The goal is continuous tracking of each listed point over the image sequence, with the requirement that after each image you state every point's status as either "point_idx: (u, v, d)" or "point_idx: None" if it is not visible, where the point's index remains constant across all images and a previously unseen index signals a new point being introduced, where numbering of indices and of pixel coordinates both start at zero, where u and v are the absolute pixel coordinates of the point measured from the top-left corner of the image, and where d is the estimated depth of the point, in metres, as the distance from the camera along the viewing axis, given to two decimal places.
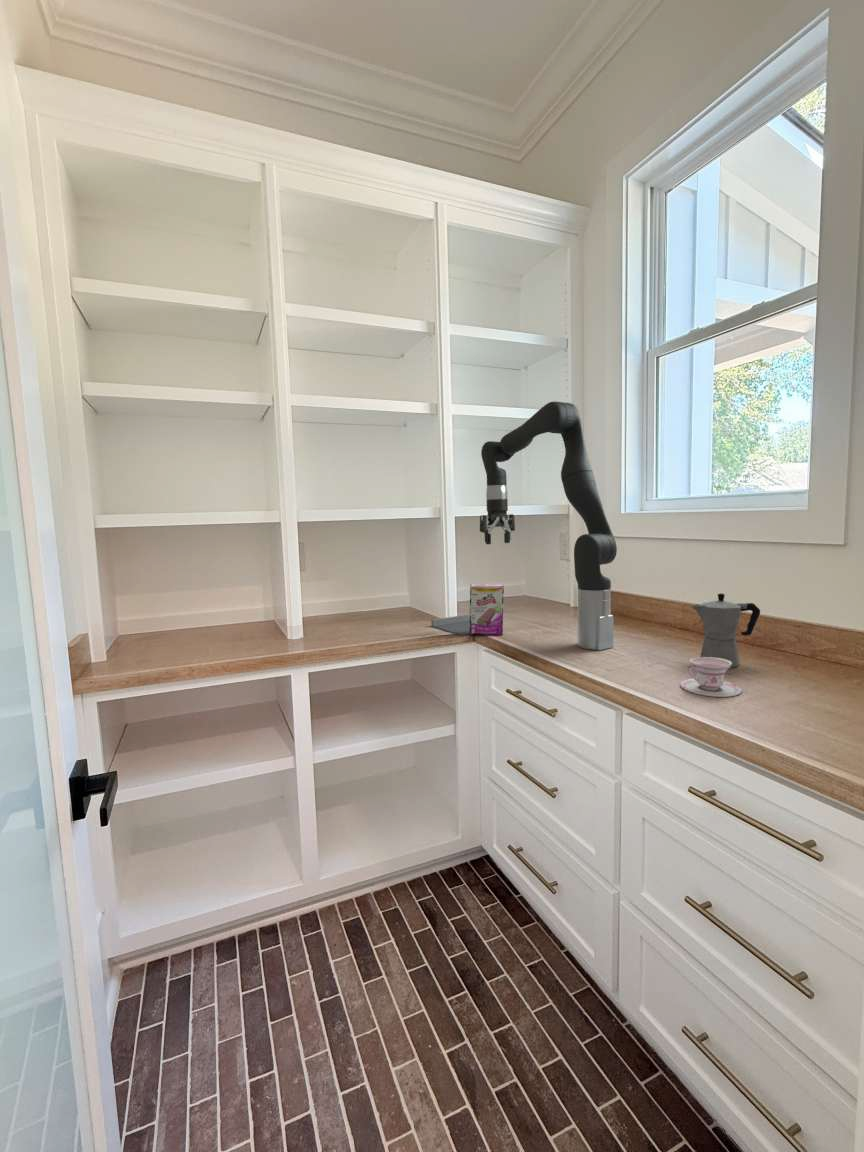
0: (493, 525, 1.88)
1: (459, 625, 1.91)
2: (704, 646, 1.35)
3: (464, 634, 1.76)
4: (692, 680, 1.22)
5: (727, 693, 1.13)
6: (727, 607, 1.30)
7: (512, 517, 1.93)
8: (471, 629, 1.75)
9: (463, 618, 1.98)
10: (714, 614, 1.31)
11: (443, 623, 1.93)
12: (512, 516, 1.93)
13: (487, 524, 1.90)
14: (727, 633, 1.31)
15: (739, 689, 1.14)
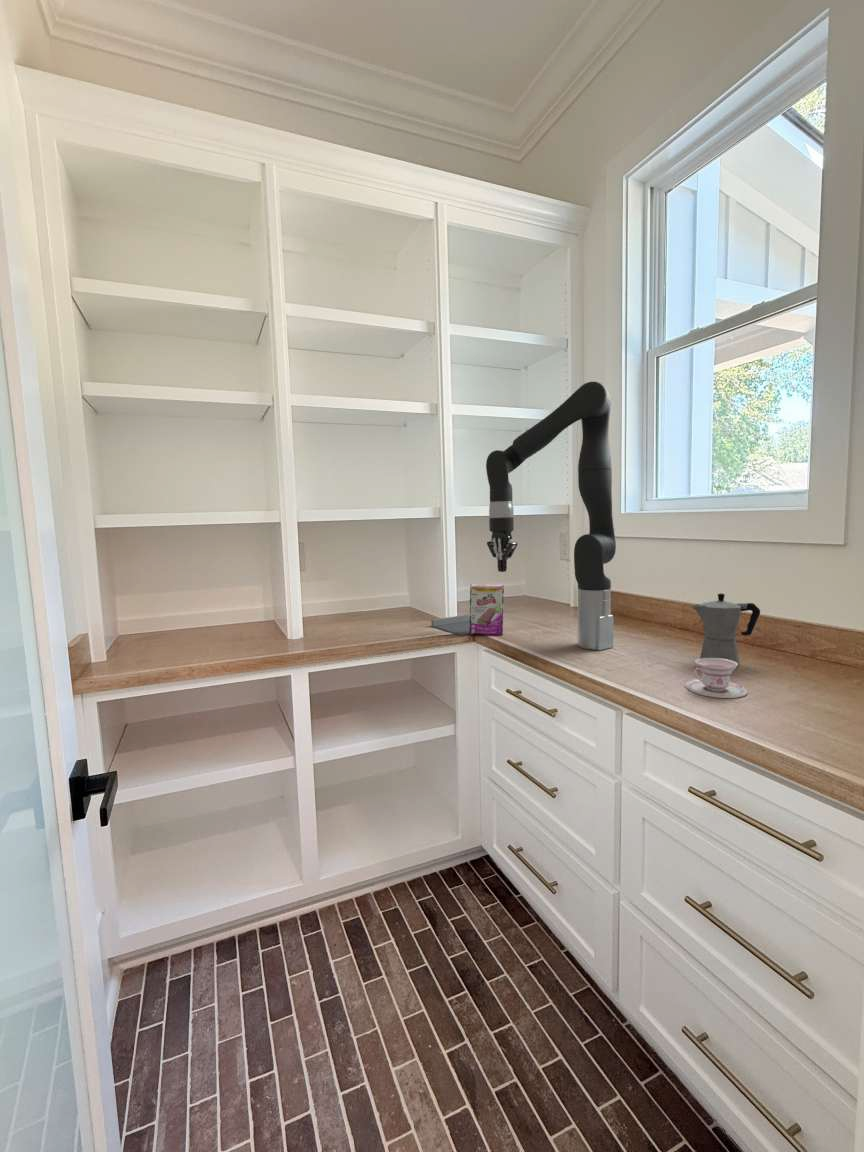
0: None
1: (459, 625, 1.91)
2: (704, 646, 1.35)
3: (464, 634, 1.76)
4: (697, 681, 1.21)
5: (733, 694, 1.12)
6: (727, 607, 1.30)
7: None
8: (471, 629, 1.75)
9: (463, 618, 1.98)
10: (714, 614, 1.31)
11: (443, 623, 1.93)
12: None
13: (501, 549, 1.64)
14: (727, 633, 1.31)
15: (745, 690, 1.14)
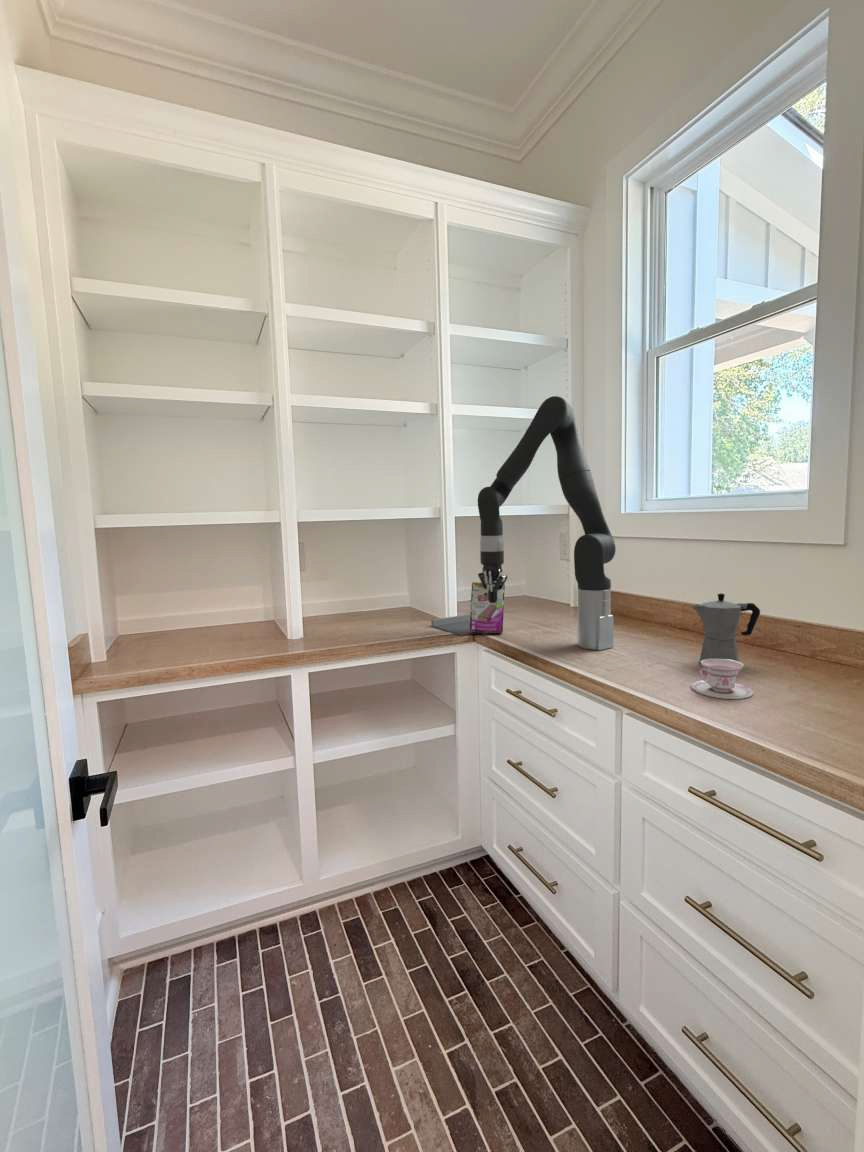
0: None
1: (459, 625, 1.91)
2: (704, 646, 1.35)
3: (464, 634, 1.76)
4: (702, 682, 1.20)
5: (739, 695, 1.12)
6: (727, 607, 1.30)
7: None
8: (471, 625, 1.76)
9: (463, 618, 1.98)
10: (714, 614, 1.31)
11: (443, 623, 1.93)
12: None
13: (492, 581, 1.70)
14: (727, 633, 1.31)
15: (751, 691, 1.13)
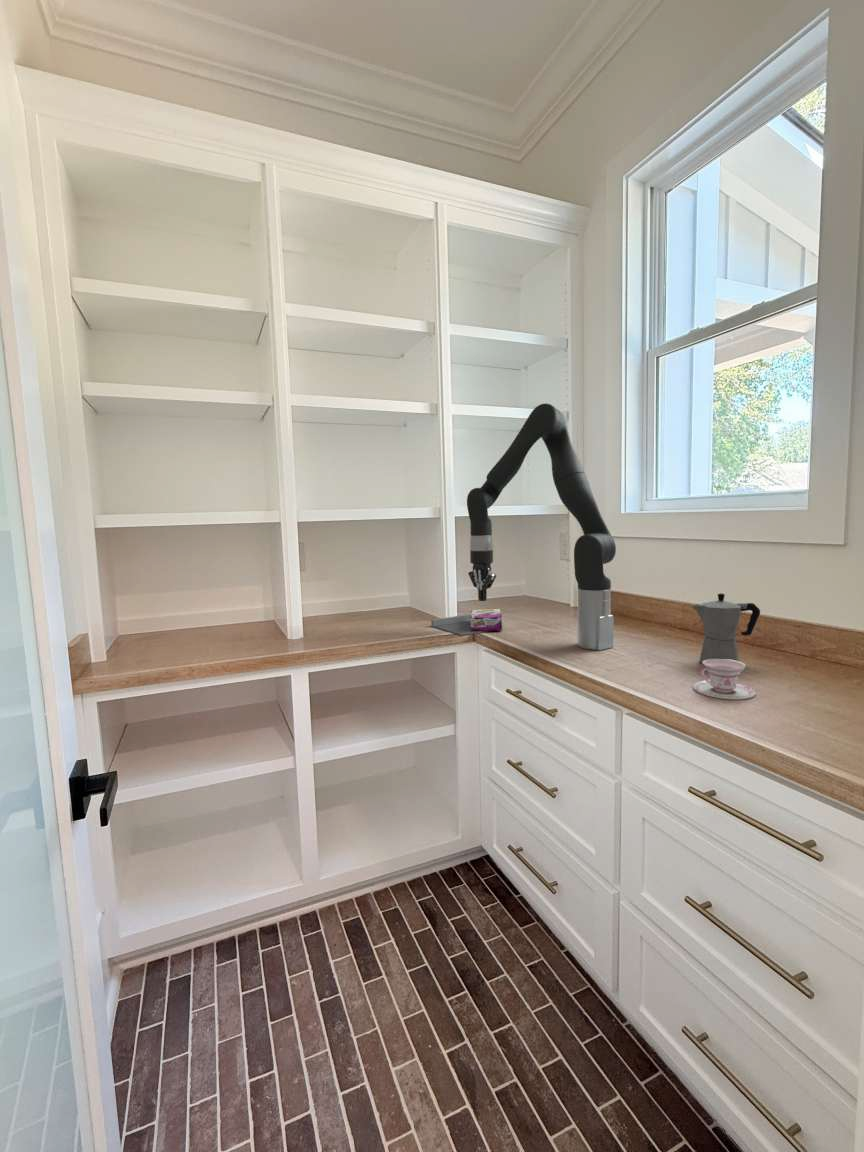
0: None
1: (459, 625, 1.91)
2: (704, 646, 1.35)
3: (464, 634, 1.76)
4: (704, 682, 1.20)
5: (741, 695, 1.11)
6: (727, 607, 1.30)
7: None
8: (471, 616, 1.82)
9: (463, 618, 1.98)
10: (714, 614, 1.31)
11: (443, 623, 1.93)
12: None
13: (481, 580, 1.75)
14: (727, 633, 1.31)
15: (753, 691, 1.13)
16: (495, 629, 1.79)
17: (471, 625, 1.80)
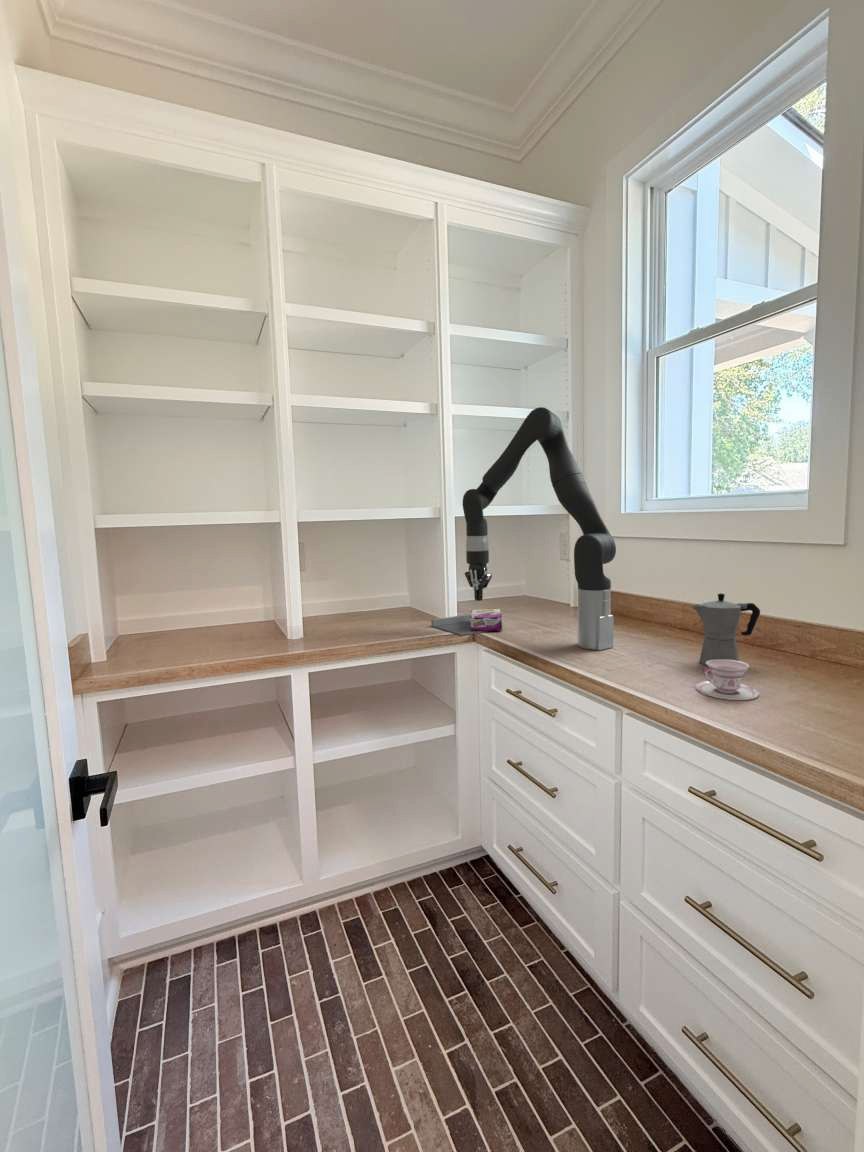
0: None
1: (459, 625, 1.91)
2: (704, 646, 1.35)
3: (464, 634, 1.76)
4: (707, 683, 1.20)
5: (745, 696, 1.11)
6: (727, 607, 1.30)
7: None
8: (471, 616, 1.82)
9: (463, 618, 1.98)
10: (714, 614, 1.31)
11: (443, 623, 1.93)
12: None
13: (477, 580, 1.77)
14: (727, 633, 1.31)
15: (756, 692, 1.12)
16: (495, 629, 1.79)
17: (471, 625, 1.80)
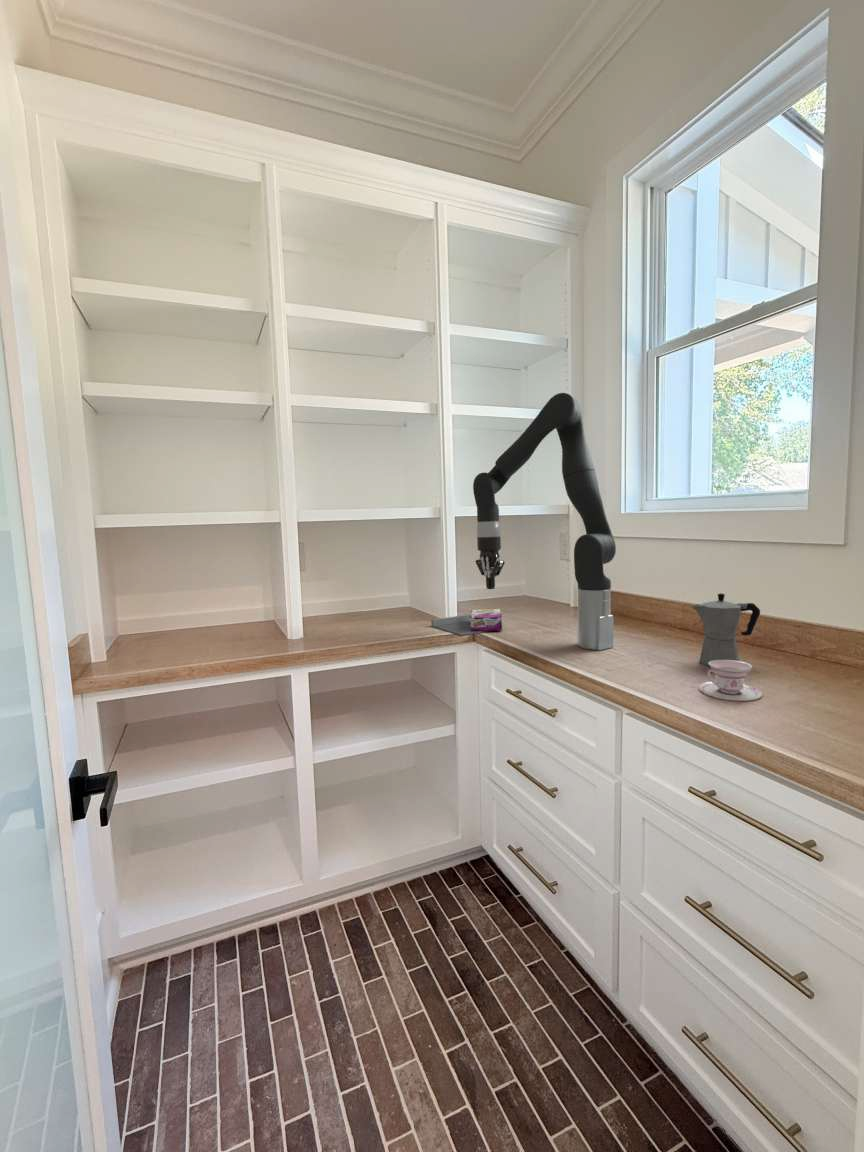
0: None
1: (459, 625, 1.91)
2: (704, 646, 1.35)
3: (464, 634, 1.76)
4: (710, 683, 1.19)
5: (748, 697, 1.11)
6: (727, 607, 1.30)
7: None
8: (471, 616, 1.82)
9: (463, 618, 1.98)
10: (714, 614, 1.31)
11: (443, 623, 1.93)
12: None
13: (489, 567, 1.70)
14: (727, 633, 1.31)
15: (759, 692, 1.12)
16: (495, 629, 1.79)
17: (471, 625, 1.80)
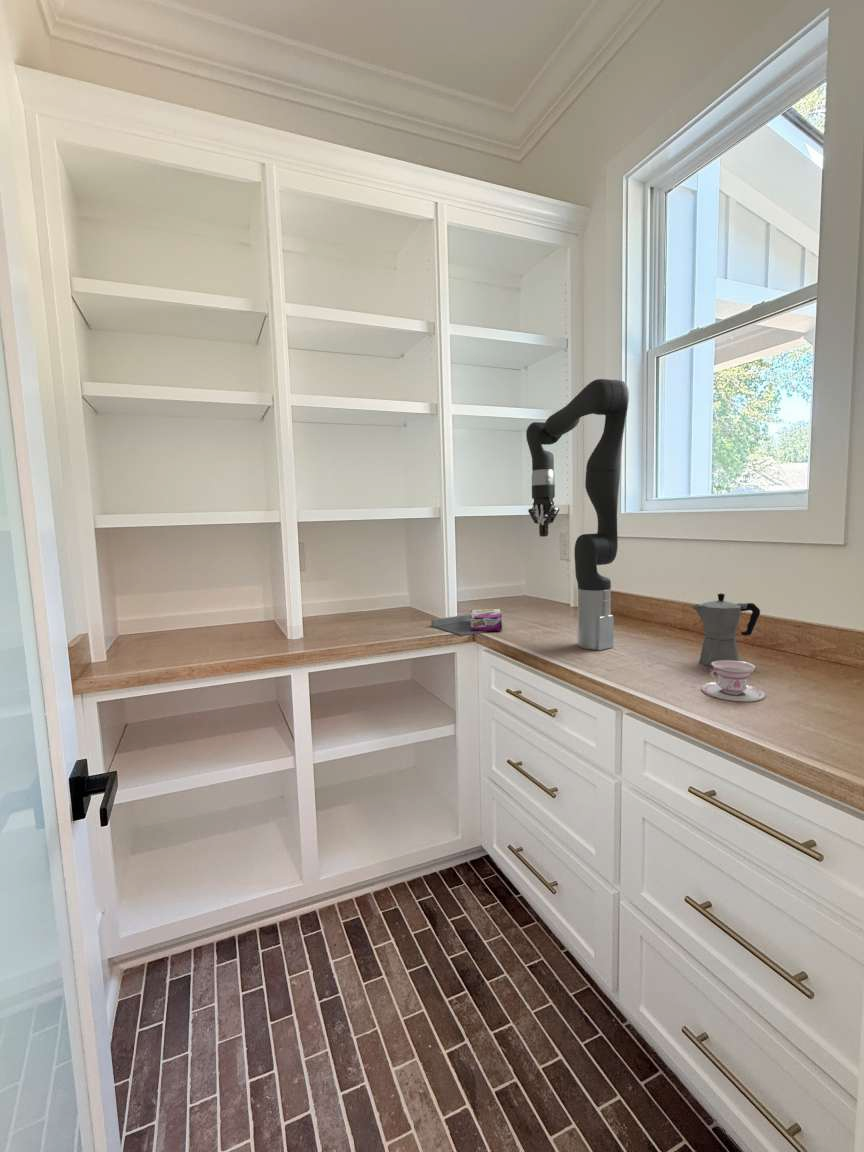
0: None
1: (459, 625, 1.91)
2: (704, 646, 1.35)
3: (464, 634, 1.76)
4: (713, 684, 1.19)
5: (751, 697, 1.10)
6: (727, 607, 1.30)
7: None
8: (471, 616, 1.82)
9: (463, 618, 1.98)
10: (714, 614, 1.31)
11: (443, 623, 1.93)
12: None
13: (544, 514, 1.75)
14: (727, 633, 1.31)
15: (763, 693, 1.11)
16: (495, 629, 1.79)
17: (471, 625, 1.80)
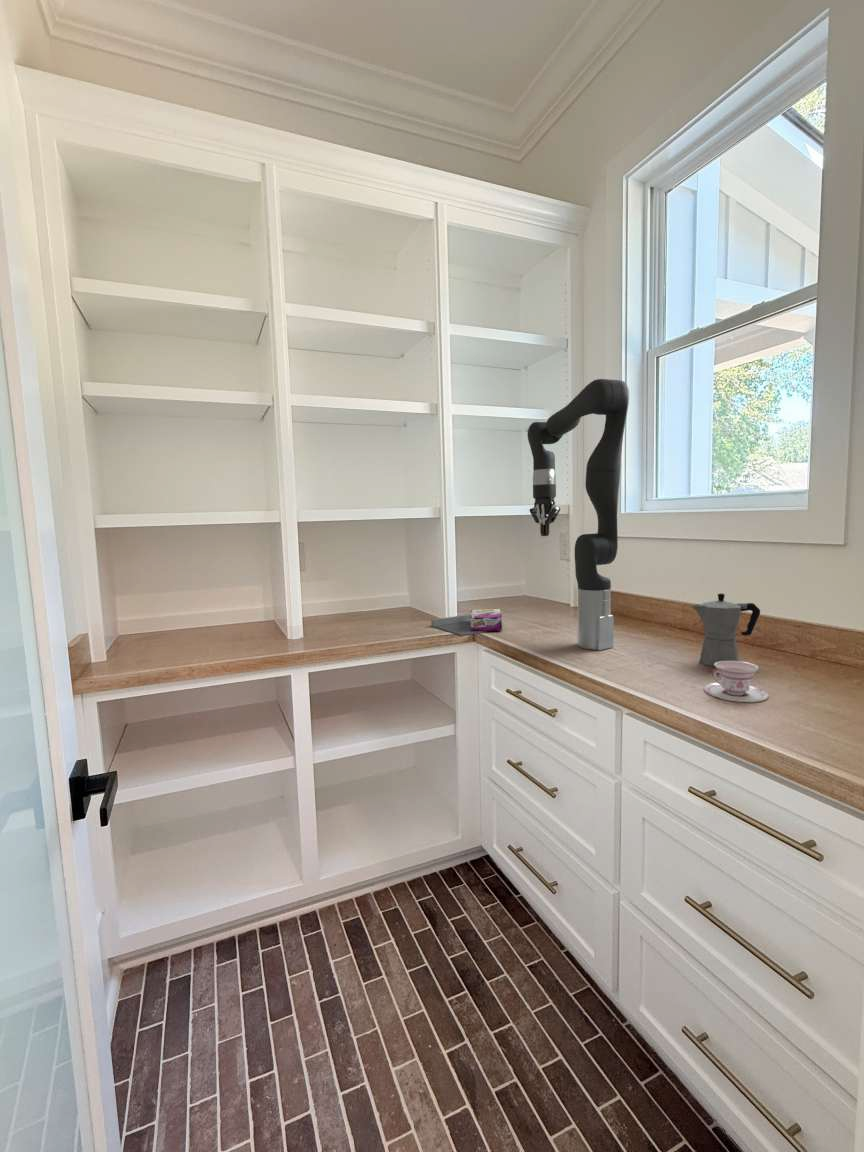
0: None
1: (459, 625, 1.91)
2: (704, 646, 1.35)
3: (464, 634, 1.76)
4: (715, 684, 1.18)
5: (754, 698, 1.10)
6: (727, 607, 1.30)
7: None
8: (471, 616, 1.82)
9: (463, 618, 1.98)
10: (714, 614, 1.31)
11: (443, 623, 1.93)
12: None
13: (545, 514, 1.75)
14: (727, 633, 1.31)
15: (766, 694, 1.11)
16: (495, 629, 1.79)
17: (471, 625, 1.80)
